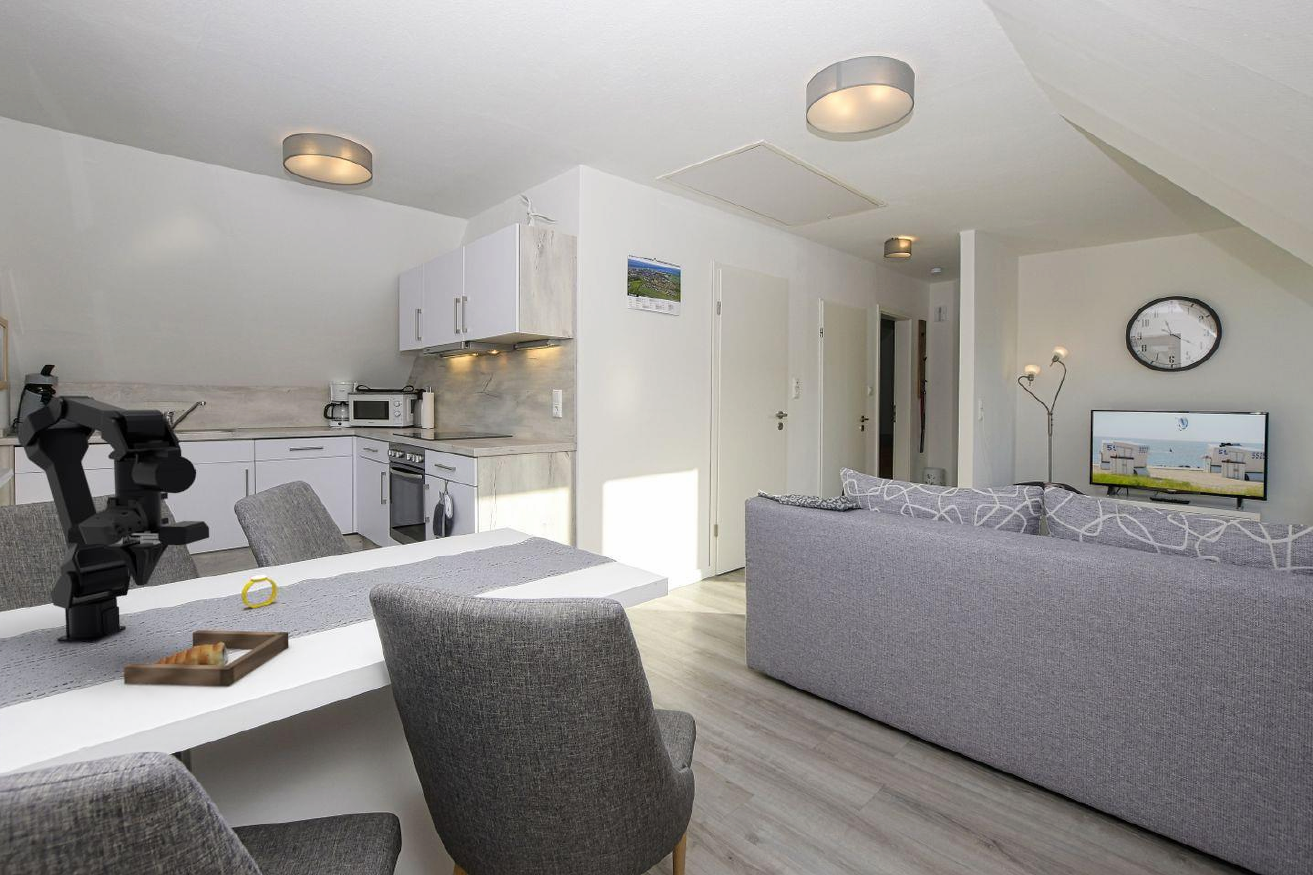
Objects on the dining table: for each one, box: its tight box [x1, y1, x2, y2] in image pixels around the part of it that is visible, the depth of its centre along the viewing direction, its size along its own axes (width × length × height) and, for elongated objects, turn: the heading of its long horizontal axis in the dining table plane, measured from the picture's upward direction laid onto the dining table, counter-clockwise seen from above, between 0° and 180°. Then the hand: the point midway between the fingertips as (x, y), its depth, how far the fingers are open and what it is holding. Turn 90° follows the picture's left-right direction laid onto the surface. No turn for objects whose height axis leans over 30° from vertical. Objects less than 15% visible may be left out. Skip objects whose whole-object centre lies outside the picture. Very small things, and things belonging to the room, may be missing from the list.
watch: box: [241, 574, 278, 609], centre depth 125 cm, size 6×3×6 cm, turn 145°
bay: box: [123, 629, 289, 687], centre depth 98 cm, size 15×14×2 cm
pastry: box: [154, 642, 229, 666], centre depth 96 cm, size 9×7×4 cm
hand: (141, 584), depth 102 cm, fingers closed
